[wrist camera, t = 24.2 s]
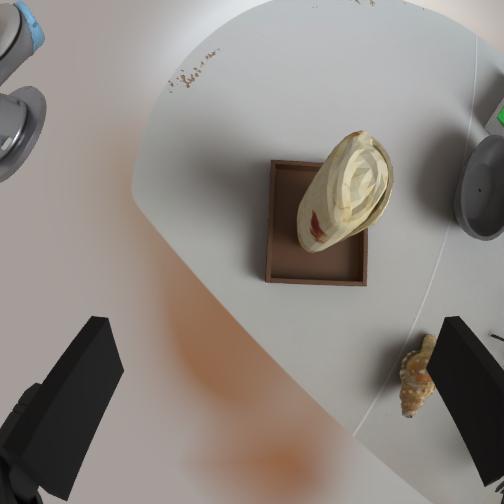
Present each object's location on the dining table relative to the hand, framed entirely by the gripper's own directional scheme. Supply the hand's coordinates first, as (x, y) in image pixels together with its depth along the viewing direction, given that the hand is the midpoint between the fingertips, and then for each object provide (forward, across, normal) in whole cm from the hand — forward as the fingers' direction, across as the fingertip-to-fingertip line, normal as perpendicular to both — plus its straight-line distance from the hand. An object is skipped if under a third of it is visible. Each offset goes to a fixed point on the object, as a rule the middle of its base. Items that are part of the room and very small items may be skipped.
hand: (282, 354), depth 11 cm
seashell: (+22, +23, -24) cm, 40 cm away
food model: (+31, +7, -4) cm, 32 cm away
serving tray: (+32, +7, -5) cm, 33 cm away
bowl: (+34, +36, +2) cm, 50 cm away
